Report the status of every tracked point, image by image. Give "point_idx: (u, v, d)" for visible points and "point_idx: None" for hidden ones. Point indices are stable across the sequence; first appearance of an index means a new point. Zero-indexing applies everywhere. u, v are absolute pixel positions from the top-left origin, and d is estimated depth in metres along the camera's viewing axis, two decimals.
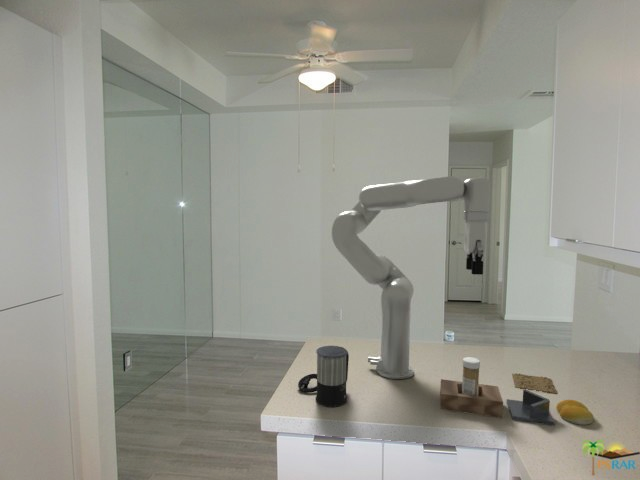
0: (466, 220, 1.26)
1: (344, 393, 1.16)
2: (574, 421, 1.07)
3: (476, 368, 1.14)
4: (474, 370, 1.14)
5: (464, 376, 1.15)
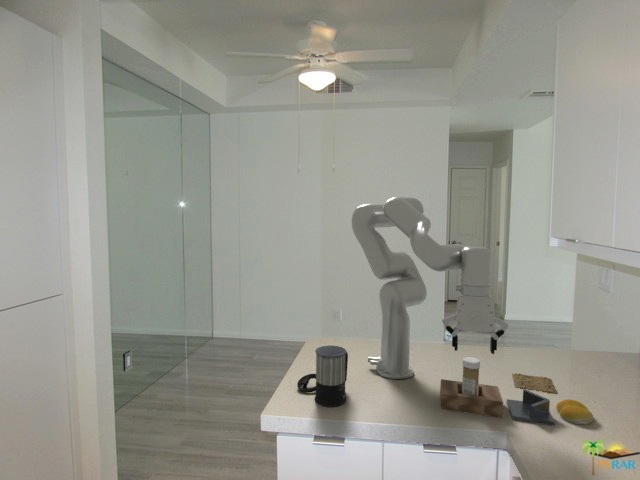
0: (483, 296, 1.10)
1: (343, 393, 1.16)
2: (574, 421, 1.07)
3: (476, 368, 1.14)
4: (474, 370, 1.14)
5: (464, 376, 1.15)
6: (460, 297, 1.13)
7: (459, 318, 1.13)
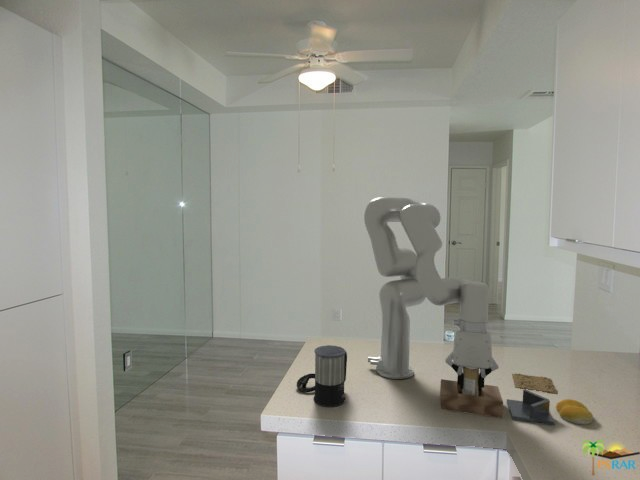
0: (481, 332, 1.11)
1: (342, 393, 1.16)
2: (574, 421, 1.07)
3: (476, 368, 1.14)
4: (474, 370, 1.14)
5: (464, 376, 1.15)
6: (458, 332, 1.14)
7: (456, 353, 1.14)
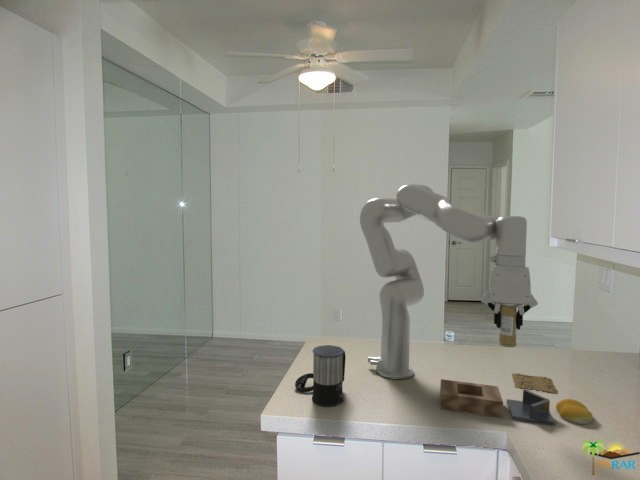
0: (519, 266, 1.07)
1: (340, 392, 1.17)
2: (573, 420, 1.07)
3: (514, 305, 1.09)
4: (512, 307, 1.09)
5: (501, 314, 1.11)
6: (495, 268, 1.10)
7: (493, 289, 1.10)
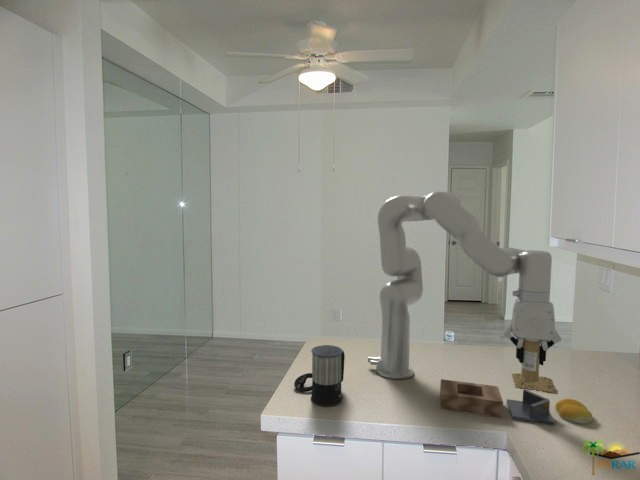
0: (544, 302, 1.06)
1: (339, 392, 1.17)
2: (573, 420, 1.08)
3: (538, 340, 1.09)
4: (536, 342, 1.09)
5: (524, 349, 1.10)
6: (518, 303, 1.09)
7: (517, 324, 1.09)
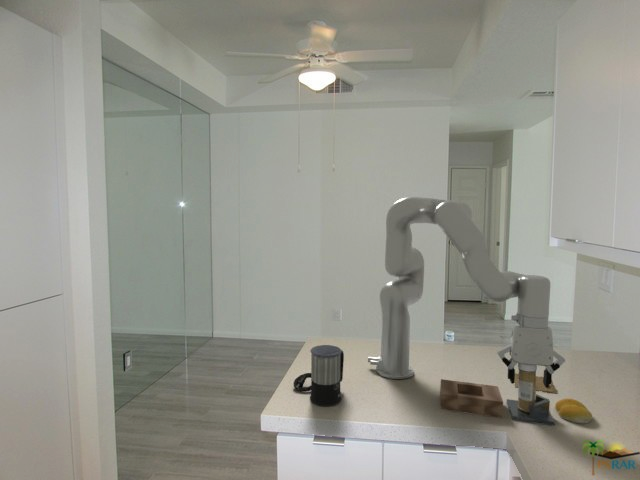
0: (542, 328, 1.07)
1: (338, 392, 1.17)
2: (573, 420, 1.08)
3: (533, 370, 1.10)
4: (532, 372, 1.10)
5: (520, 379, 1.11)
6: (517, 328, 1.10)
7: (515, 349, 1.10)
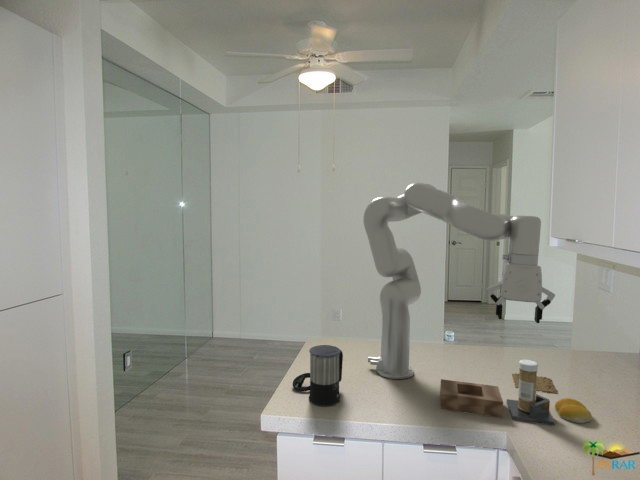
0: (532, 265, 1.10)
1: (337, 392, 1.17)
2: (573, 420, 1.08)
3: (534, 371, 1.09)
4: (533, 373, 1.09)
5: (521, 379, 1.11)
6: (507, 266, 1.13)
7: (505, 286, 1.13)
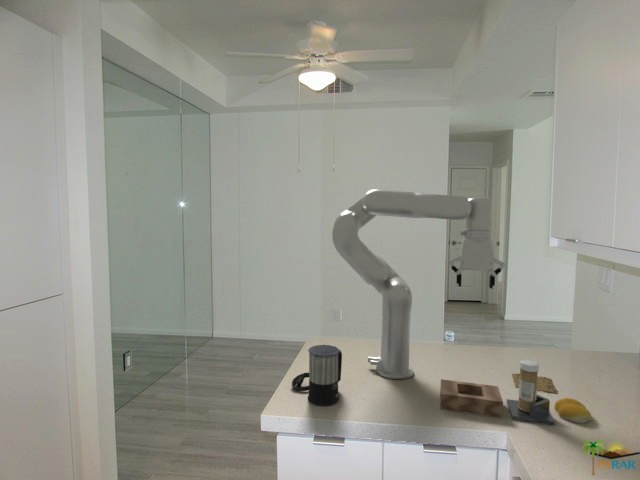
0: (484, 238, 1.30)
1: (336, 392, 1.17)
2: (572, 419, 1.08)
3: (535, 371, 1.09)
4: (533, 373, 1.09)
5: (522, 379, 1.11)
6: (464, 240, 1.32)
7: (463, 258, 1.32)
